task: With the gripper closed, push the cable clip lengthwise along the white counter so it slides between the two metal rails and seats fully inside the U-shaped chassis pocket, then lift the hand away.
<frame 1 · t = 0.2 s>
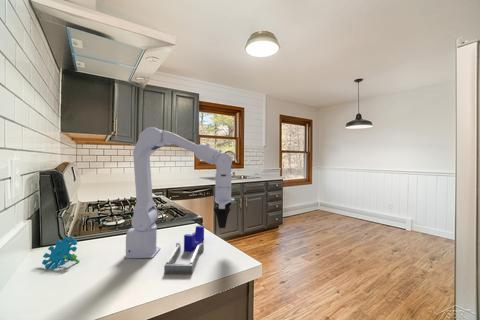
hand: (222, 224, 81), 10 cm above the worktop, tool pointing down, fingers open, 7 cm apart
cable clip: (192, 246, 87), on the worktop
blue knobby toy: (61, 265, 70), on the worktop
chassis pocket: (184, 261, 73), on the worktop
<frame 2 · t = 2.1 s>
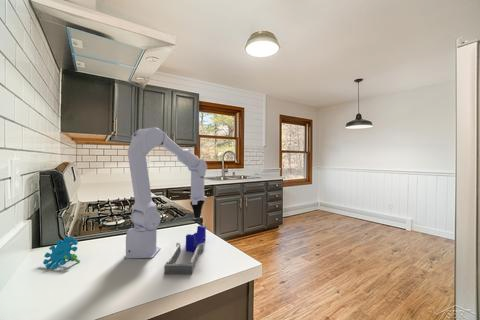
hand: (197, 217, 98), 8 cm above the worktop, tool pointing down, fingers closed
nothing on the worktop moved.
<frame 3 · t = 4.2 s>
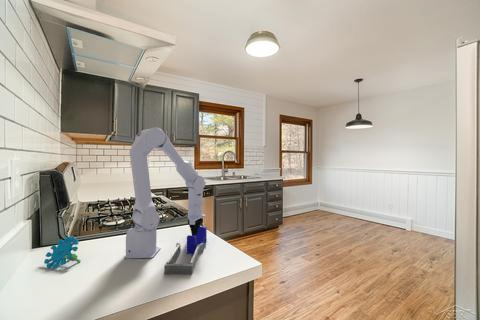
hand: (195, 237, 93), 1 cm above the worktop, tool pointing down, fingers closed
cable clip: (195, 247, 85), on the worktop, touching gripper
everything else where it was.
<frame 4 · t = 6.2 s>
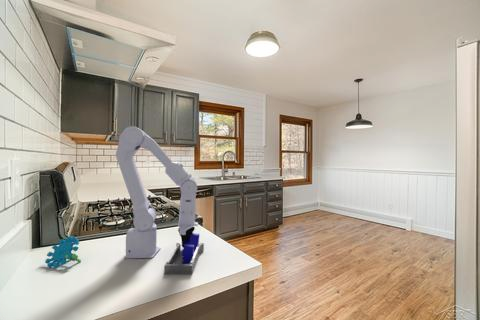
hand: (185, 247, 83), 1 cm above the worktop, tool pointing down, fingers closed, pressing on cable clip
cable clip: (188, 257, 77), resting in chassis pocket, touching gripper
everything else where it was.
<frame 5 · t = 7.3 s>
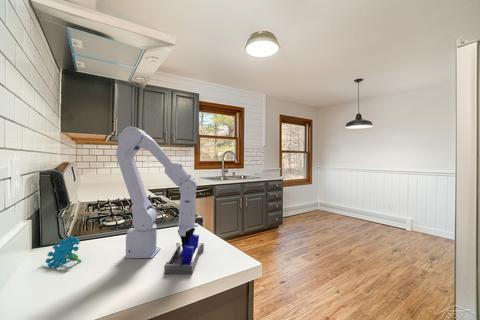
hand: (185, 249, 81), 1 cm above the worktop, tool pointing down, fingers closed, pressing on cable clip
cable clip: (187, 258, 75), resting in chassis pocket, touching gripper
everything else where it was.
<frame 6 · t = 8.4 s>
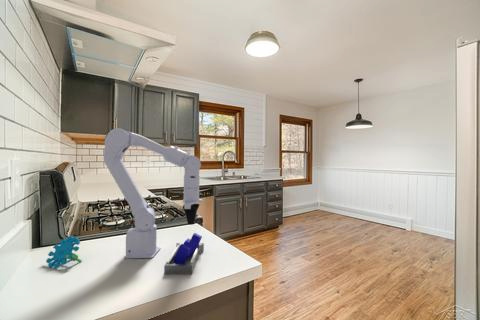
hand: (191, 223, 84), 9 cm above the worktop, tool pointing down, fingers closed
cable clip: (183, 255, 76), point 1 cm above the worktop
everything else where it was.
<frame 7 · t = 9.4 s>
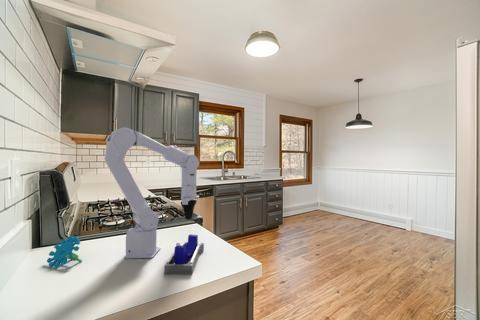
hand: (188, 219, 89), 9 cm above the worktop, tool pointing down, fingers closed
cable clip: (184, 258, 76), resting in chassis pocket
everything else where it was.
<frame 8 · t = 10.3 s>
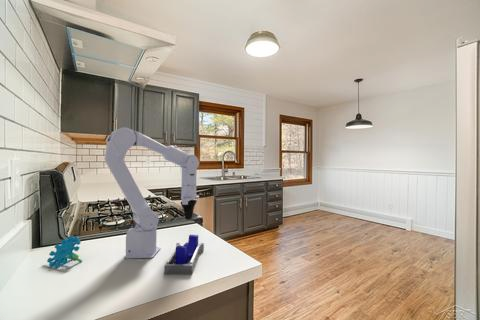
hand: (188, 219, 89), 9 cm above the worktop, tool pointing down, fingers closed
at the end: cable clip inside the target area on the chassis pocket (2.5 cm from its centre), point 0.0 cm above the chassis pocket's base; cable clip tilted 0°; cable clip moved 10.8 cm from its start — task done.
